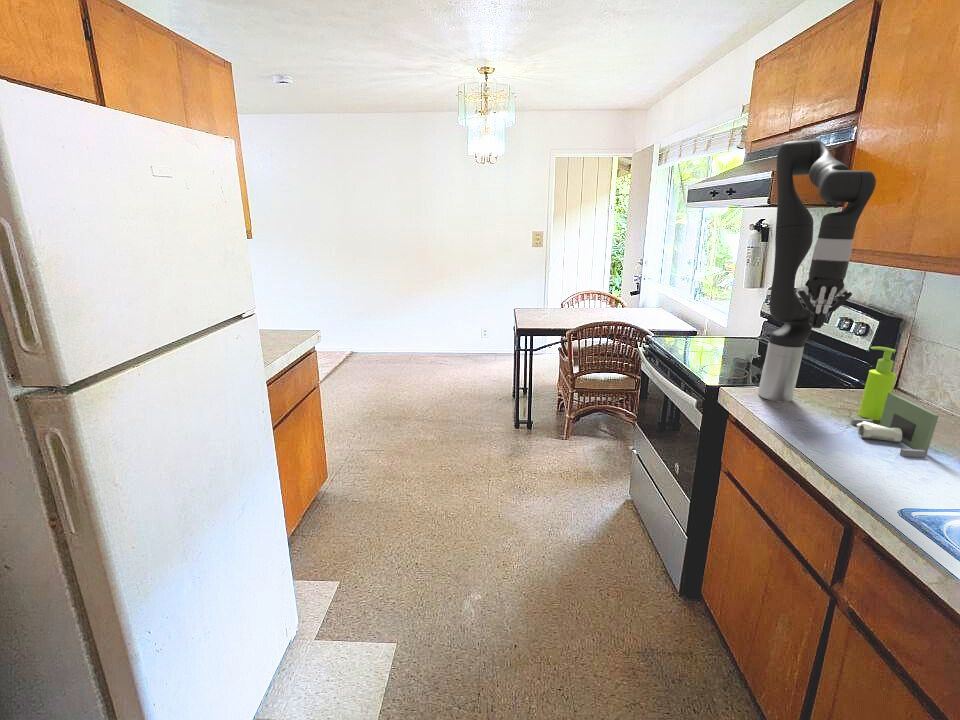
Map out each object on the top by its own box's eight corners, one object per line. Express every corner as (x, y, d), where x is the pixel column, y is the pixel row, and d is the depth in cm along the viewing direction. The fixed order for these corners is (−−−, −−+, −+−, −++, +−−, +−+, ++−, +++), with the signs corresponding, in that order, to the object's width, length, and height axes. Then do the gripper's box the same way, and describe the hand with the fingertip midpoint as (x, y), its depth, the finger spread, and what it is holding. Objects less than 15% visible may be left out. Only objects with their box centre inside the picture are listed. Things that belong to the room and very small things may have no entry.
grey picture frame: (850, 423, 135) (859, 389, 132) (877, 424, 134) (887, 390, 131) (902, 456, 117) (913, 417, 114) (933, 457, 116) (945, 418, 114)
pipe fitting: (851, 431, 131) (862, 440, 125) (854, 417, 130) (865, 425, 124) (887, 436, 129) (900, 445, 123) (891, 422, 128) (903, 430, 122)
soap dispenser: (855, 409, 145) (873, 343, 139) (885, 416, 140) (904, 348, 134) (851, 414, 141) (869, 347, 135) (882, 422, 136) (901, 352, 130)
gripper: (849, 257, 123) (833, 325, 128) (794, 255, 124) (780, 323, 129) (869, 260, 116) (851, 332, 121) (811, 258, 117) (796, 329, 122)
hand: (815, 327), depth 125 cm, fingers closed
